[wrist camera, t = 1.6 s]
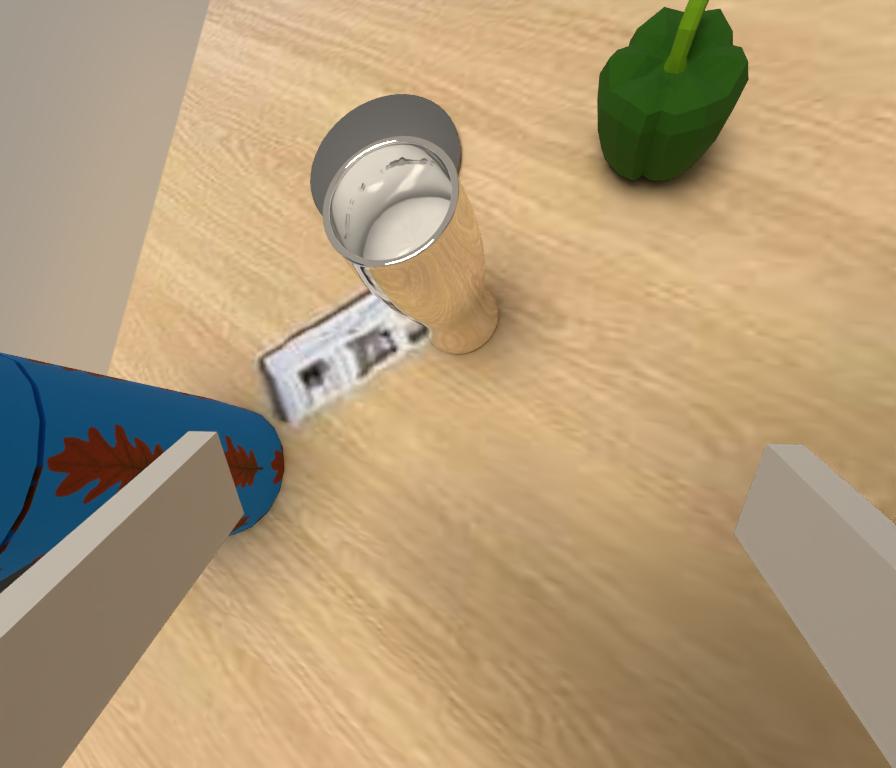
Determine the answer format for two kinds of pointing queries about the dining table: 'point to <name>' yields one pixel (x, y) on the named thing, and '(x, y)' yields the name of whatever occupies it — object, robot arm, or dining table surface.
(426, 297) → the metal tumbler
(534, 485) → the dining table surface
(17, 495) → the thermos
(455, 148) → the coaster
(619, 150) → the bell pepper
